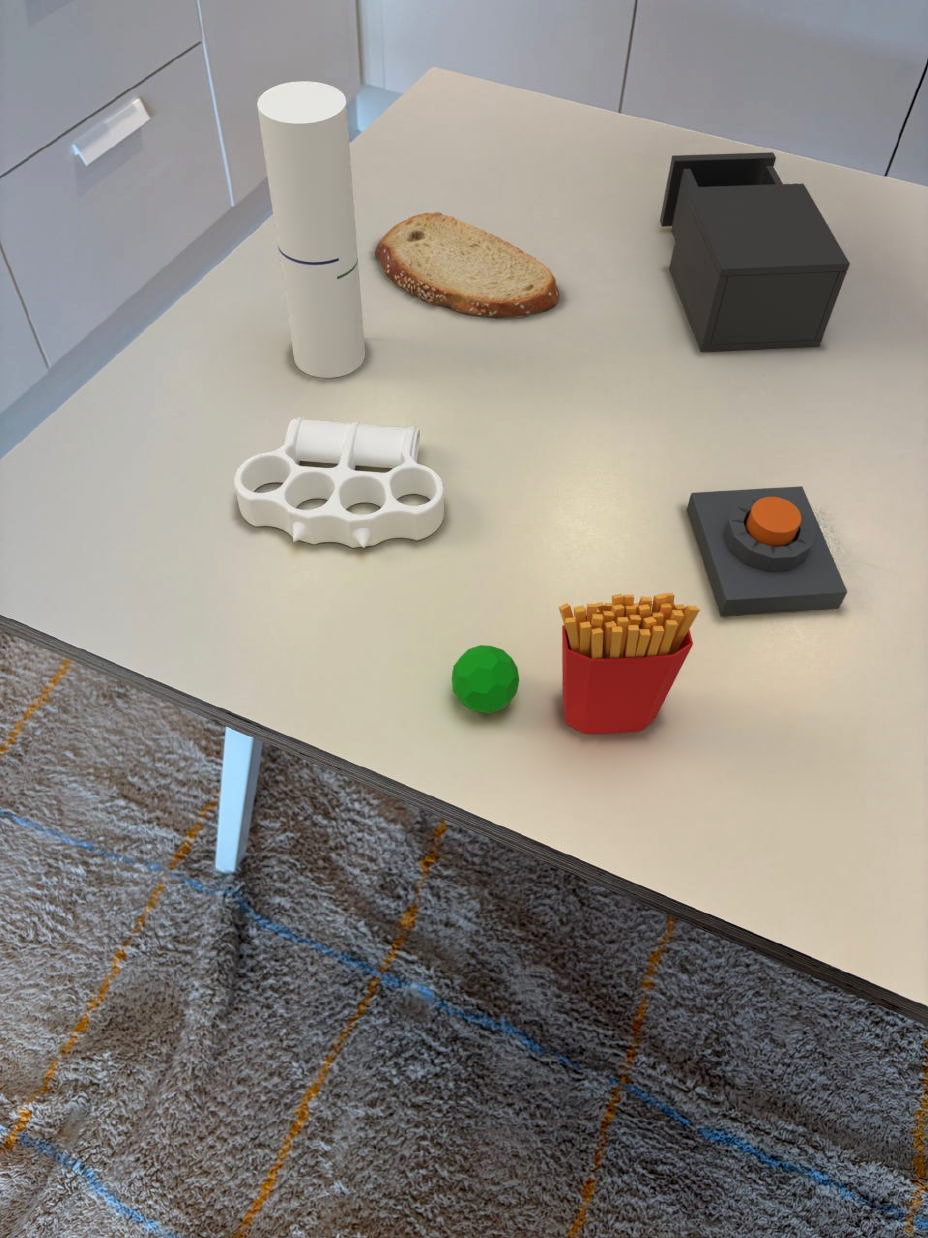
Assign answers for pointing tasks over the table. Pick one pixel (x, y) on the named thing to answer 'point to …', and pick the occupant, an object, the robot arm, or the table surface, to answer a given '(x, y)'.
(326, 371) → the cylindrical container
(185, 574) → the table surface
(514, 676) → the polyhedron
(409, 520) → the knuckle duster
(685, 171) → the drawer
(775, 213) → the dark grey paneled cube
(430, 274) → the bread slice
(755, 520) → the button
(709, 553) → the control block
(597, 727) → the french fries
